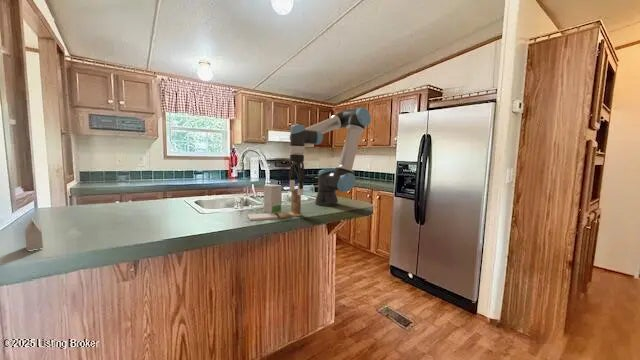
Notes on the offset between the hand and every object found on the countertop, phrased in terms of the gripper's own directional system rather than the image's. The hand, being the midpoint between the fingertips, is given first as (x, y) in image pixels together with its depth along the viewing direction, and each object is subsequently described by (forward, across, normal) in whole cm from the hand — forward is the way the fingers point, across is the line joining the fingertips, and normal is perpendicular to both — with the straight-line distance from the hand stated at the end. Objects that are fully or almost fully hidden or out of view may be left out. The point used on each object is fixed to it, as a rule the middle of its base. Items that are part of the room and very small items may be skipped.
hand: (296, 193), depth 149 cm
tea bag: (+14, +18, -100) cm, 103 cm away
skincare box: (+12, -9, -10) cm, 18 cm away
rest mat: (+12, +1, -18) cm, 22 cm away
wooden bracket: (+12, 0, -4) cm, 13 cm away
